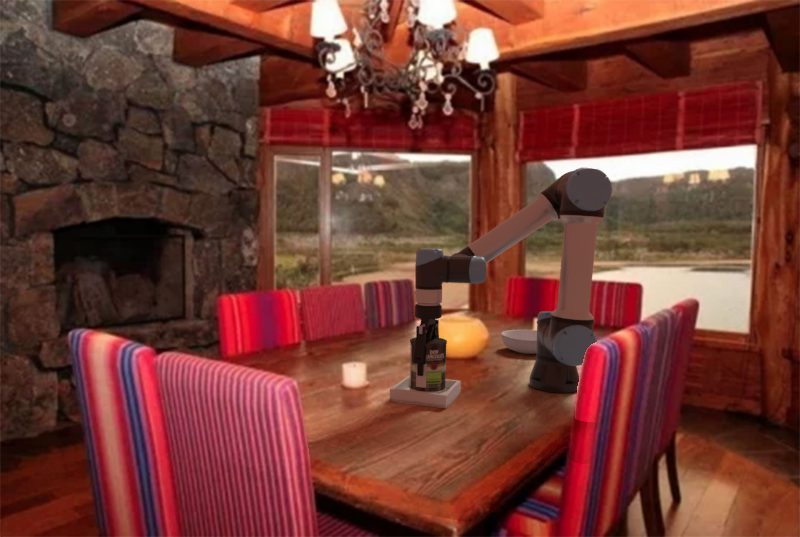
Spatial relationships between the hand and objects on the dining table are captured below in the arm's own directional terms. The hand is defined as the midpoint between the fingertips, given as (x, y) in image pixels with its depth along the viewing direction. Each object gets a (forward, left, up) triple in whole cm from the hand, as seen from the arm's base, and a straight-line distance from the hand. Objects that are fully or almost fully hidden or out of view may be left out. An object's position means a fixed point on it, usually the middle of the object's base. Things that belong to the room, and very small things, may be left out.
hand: (426, 382), depth 164 cm
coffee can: (0, 0, -2) cm, 2 cm away
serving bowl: (-19, -73, -5) cm, 76 cm away
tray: (0, 0, -4) cm, 4 cm away
